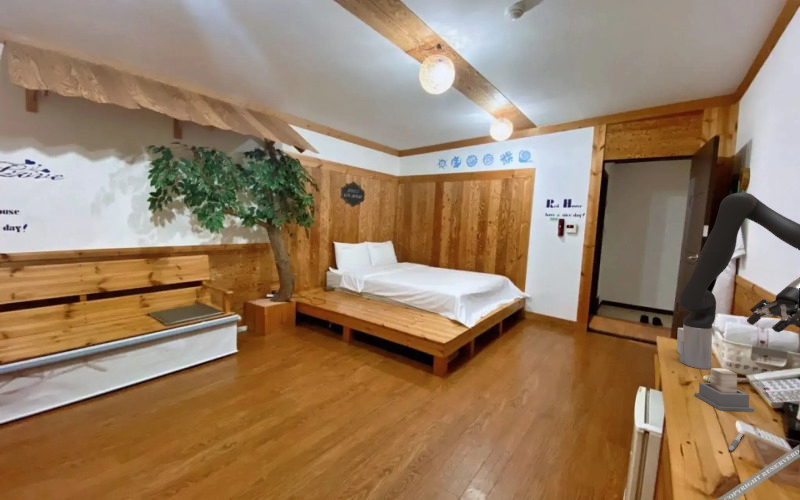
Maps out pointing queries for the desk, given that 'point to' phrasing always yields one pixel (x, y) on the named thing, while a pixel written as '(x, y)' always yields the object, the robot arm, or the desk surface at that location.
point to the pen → (735, 442)
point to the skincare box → (679, 339)
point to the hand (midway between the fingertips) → (761, 326)
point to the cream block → (723, 380)
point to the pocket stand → (724, 399)
